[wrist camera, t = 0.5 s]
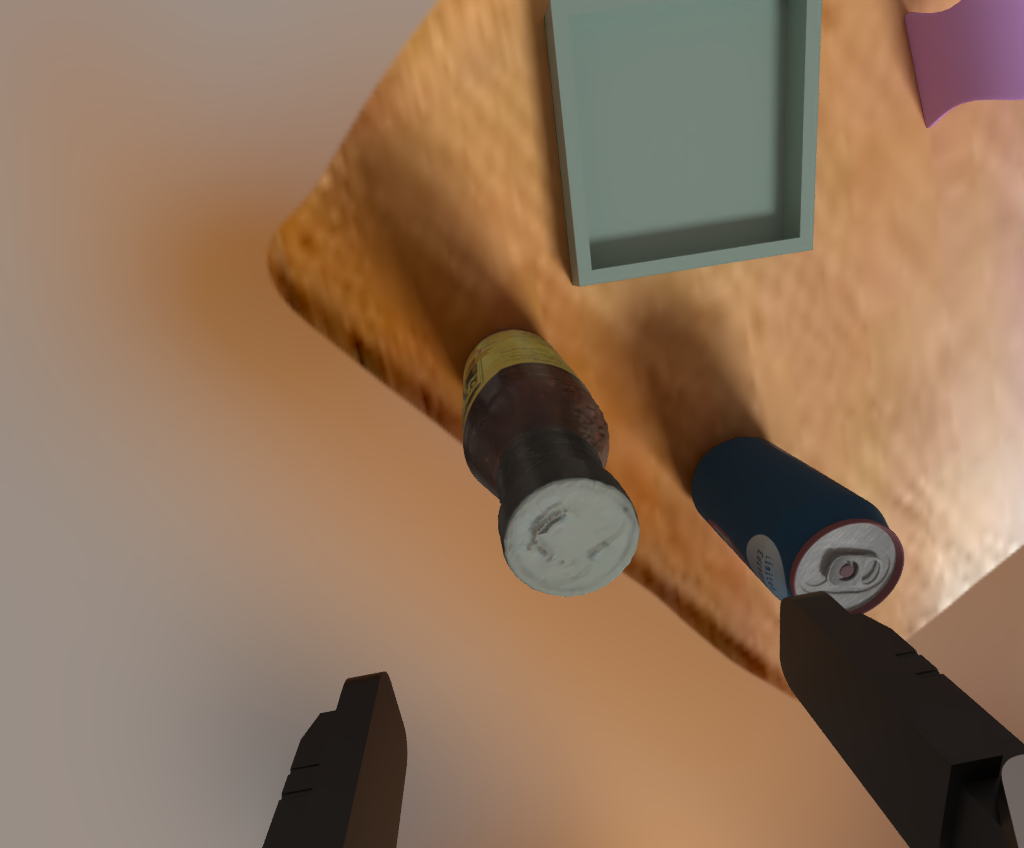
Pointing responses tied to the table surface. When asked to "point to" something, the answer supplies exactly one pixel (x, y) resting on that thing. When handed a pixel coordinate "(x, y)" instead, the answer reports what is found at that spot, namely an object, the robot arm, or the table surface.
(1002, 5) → the chair
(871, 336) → the table surface
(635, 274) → the tray
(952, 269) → the table surface
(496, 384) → the sauce bottle
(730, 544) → the soda can
